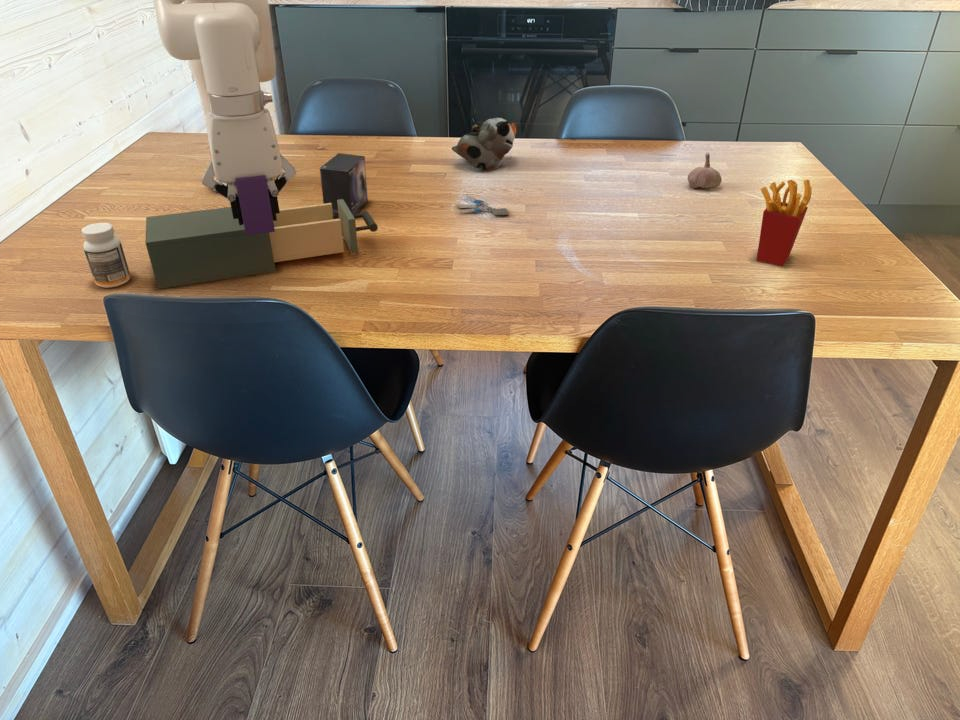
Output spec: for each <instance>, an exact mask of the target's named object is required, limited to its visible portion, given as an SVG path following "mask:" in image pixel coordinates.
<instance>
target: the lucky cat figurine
mask: <svg viewBox="0 0 960 720" xmlns="http://www.w3.org/2000/svg"><path fill="white" fill-rule="evenodd" d="M516 135H517V122H512V123H510V121H509V120H507V119H504V118H502V117H494V118H489V119H487V120H485V121H484V122H482V124H481V126H480V127H479V126H478V125H477V124H476V123H475V124H473V125H472V127H471V131H470V132H469V133H466V134H464V135H463V136H461V137H460V139H458V140H459V141H457V144H456V145H455V146H454V145H453V146H452V147H451V150H452V151H453V152H454V153H455V154H457V155H458V156H460V157H461V158H463V160H465V161H466V162H467V163H468V164H469V165H472V166H473V167H476V168H482V170H483V171H485V172H487V171H491V170H495V169H497V168H500V167H501V166H502V164H503V159H504V157H505V156H506V155H507V154H508V153H509V152H510V151H511V150H512V148H513V147H514V146H513V145H514V142H515V138H516Z"/></svg>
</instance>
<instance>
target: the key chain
mask: <svg viewBox="0 0 960 720" xmlns="http://www.w3.org/2000/svg"><path fill="white" fill-rule="evenodd" d="M465 196H466V197H468V198H470V199H471V200H473V201H472V202H473V203H474V204H460V205H458V208H459V212H480V211H489V212H492V214H493V216H506V215H509V214H510V211H508V209H507V208H505V207H503V208H502V207H501V208H495V207H491V206H489V203H487V201H484V200H482V199H477V198H474V197H472V196H471V195H469V194H465ZM485 203H486V205H480V206H479V207H478V205H479V204H485Z"/></svg>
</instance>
